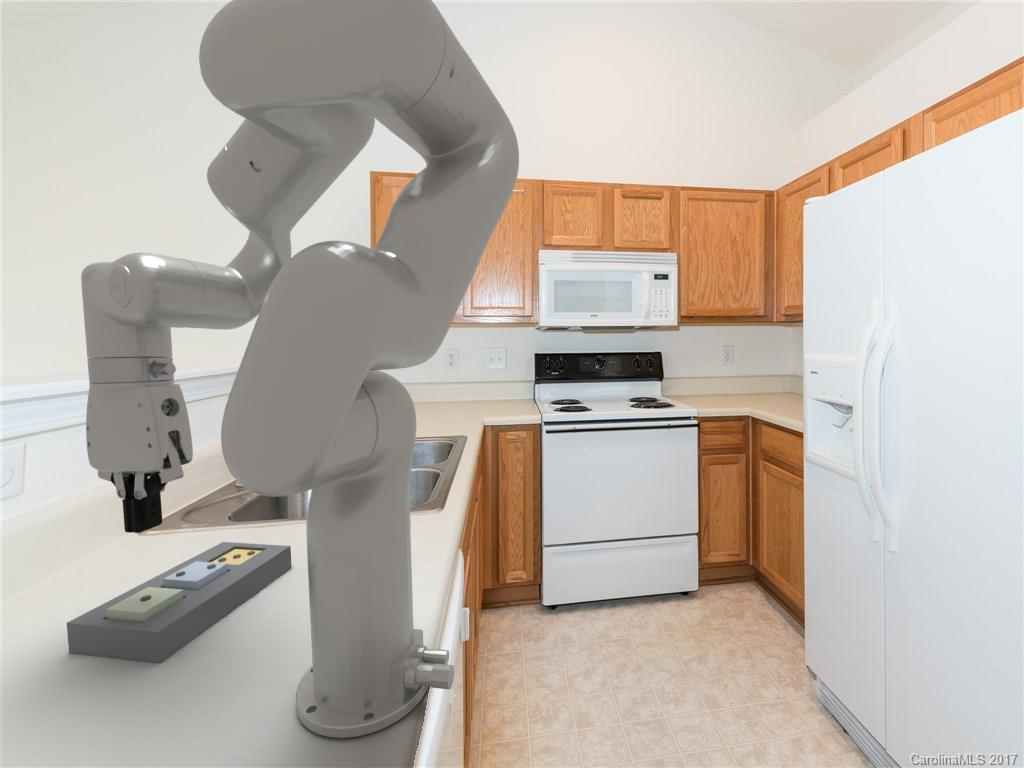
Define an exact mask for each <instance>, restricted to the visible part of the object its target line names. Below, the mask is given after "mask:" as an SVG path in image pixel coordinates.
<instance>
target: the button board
mask: <svg viewBox="0 0 1024 768" xmlns="http://www.w3.org/2000/svg"><path fill="white" fill-rule="evenodd" d="M291 547H292V546H291V545H280V544H279V545H278V544H265V543H263V544H262V543H250V542H249V543H248V542H247V543H246V542H232V541H231V542H230V541H229V542H228V541H221V542H219V543H218V544H217V545H214V546H212V547H211V548H208V549H206V550H205V551H203V552H200V553H199V554H197V555H195V556H193V557H191V558H189V559H188V560H185V561H184V562H182V563H180V564H178V565H176V566H173V567H172V568H170V569H168V570H166V571H164V572H162V573H160V574H158V575H156V576H154V577H152V578H151V579H149V580H146V581H145V582H142V583H140V584H139V585H136V586H135V587H133V588H132V589H129V590H128V591H125V592H124V593H121V594H119V595H118V596H116V597H113V598H112V599H110V600H108V601H106V602H104V603H102V604H100V605H98V606H96V607H94V608H92V609H91V610H89V611H87V612H85V613H83V614H81V615H79V616H77V617H75V618H73V619H71V620H69V621H67V622H66V632H67V644H68V645H67V646H68V653H71V654H77V655H78V654H79V655H87V656H95V657H104V658H105V657H106V658H112V659H120V660H121V659H122V660H131V661H139V662H145V663H146V662H148V663H156V664H162V662H164V661H165V660H167V659H168V658H169V657H171V656H172V655H174V654H175V653H176V652H178V651H179V650H180V649H182V648H183V647H185V646H186V645H187V644H188V643H190V642H191V641H193V640H195V639H196V638H197V637H198V636H200V635H201V634H202V633H204V632H205V631H207V630H208V629H209V628H211V627H213V625H215V624H216V623H217V622H219V621H220V620H222V619H223V618H224V617H227V615H229V614H230V613H231V612H233V611H234V610H235V609H237V608H238V607H240V606H241V605H242V604H244V603H245V602H246V601H248V600H249V599H251V598H252V597H253V596H254V595H256V594H257V593H259V592H260V591H261V590H263V589H264V588H265V587H267V586H269V585H270V584H271V583H273V582H274V581H275V580H277V579H278V578H280V577H281V576H282V575H284V574H286V572H288V571H289V570H291V569H292V568H293V567H292V565H293V564H292V551H291V550H292V548H291ZM234 549H242V550H258V551H261V552H260V553H258V554H256V555H255V556H253V557H251V558H250V559H248V560H246V561H245V562H243V563H242V564H240V565H233V564H228V572H227V573H225V574H223V575H222V576H220V577H218V578H217V579H215V580H214V581H212V582H210V583H209V584H207V585H205V586H204V587H202V588H200V589H199V590H185V589H181V590H183V599H182V600H181V601H179V602H177V603H176V604H174V605H172V606H171V607H169V608H167V609H166V610H164V611H162V612H161V613H159V614H158V615H156V616H154V617H153V618H151V619H149V620H148V621H146V622H144V623H138V622H128V621H118V620H107V615H106V609H107V608H109V607H111V606H113V605H115V604H117V603H119V602H121V601H122V600H124V599H126V598H128V597H130V596H132V595H134V594H136V593H137V592H139V591H141V590H143V589H145V588H147V587H157V588H164V585H163V579H164V578H166V577H168V576H169V575H171V574H173V573H175V572H177V571H179V570H181V569H183V568H185V567H186V566H188V565H190V564H192V563H194V562H196V561H199V562H213V561H215V560H216V559H218V558H220V557H222V556H224V555H225V554H227V553H229V552H231V551H233V550H234ZM169 589H173V588H169Z"/></svg>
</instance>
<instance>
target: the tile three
mask: <svg viewBox="0 0 1024 768" xmlns="http://www.w3.org/2000/svg"><path fill="white" fill-rule="evenodd" d="M260 552H261V551H258V550H242V549H234V550H233V551H231V552H229V553H227V554H225V555H224V556H222V557H220V558H218V559H216V560H215V561H213V563H227V564H233V565H240V564H242V563H243V562H245V561H246V560H248V559H250V558H251V557H253V556H255V555H256V554H258V553H260Z"/></svg>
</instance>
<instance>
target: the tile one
mask: <svg viewBox="0 0 1024 768" xmlns="http://www.w3.org/2000/svg"><path fill="white" fill-rule="evenodd" d="M182 599H183V590H181V589H169V588H157V587H147V588H145V589H143V590H141V591H139V592H137V593H136V594H134V595H132V596H130V597H128V598H126V599H124V600H122V601H121V602H119V603H117V604H115V605H113V606H111V607H109V608H107V609H106V615H107V620H118V621H128V622H138V623H144V622H146V621H148V620H149V619H151V618H153V617H154V616H156V615H158V614H159V613H161V612H162V611H164V610H166V609H167V608H169V607H171V606H172V605H174V604H176V603H177V602H179V601H181V600H182Z"/></svg>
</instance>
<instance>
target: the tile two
mask: <svg viewBox="0 0 1024 768" xmlns="http://www.w3.org/2000/svg"><path fill="white" fill-rule="evenodd" d="M227 572H228V564H227V563H213V562H199V561H196V562H194V563H192V564H190V565H188V566H186V567H185V568H183V569H181V570H179V571H177V572H175V573H173V574H171V575H169V576H168V577H166V578H164V579H163V585H164V588H173V589H185V590H199V589H200V588H202V587H204V586H205V585H207V584H209V583H210V582H212V581H214V580H215V579H217V578H218V577H220V576H222V575H223V574H225V573H227Z"/></svg>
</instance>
